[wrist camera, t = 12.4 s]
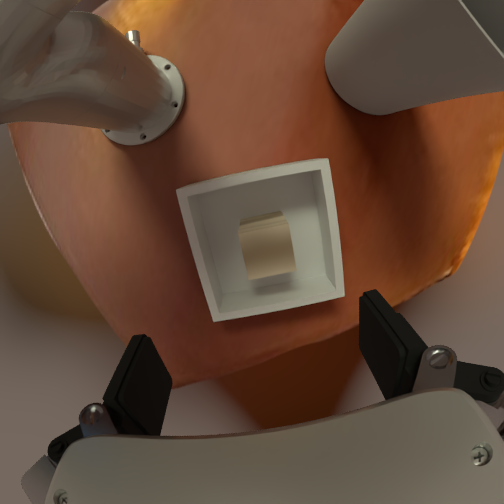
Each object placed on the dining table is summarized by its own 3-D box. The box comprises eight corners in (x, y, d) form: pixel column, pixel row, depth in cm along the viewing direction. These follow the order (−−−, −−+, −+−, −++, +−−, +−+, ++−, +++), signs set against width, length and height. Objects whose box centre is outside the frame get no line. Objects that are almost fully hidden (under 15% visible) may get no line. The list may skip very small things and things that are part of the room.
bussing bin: (188, 184, 33) (175, 189, 27) (314, 158, 32) (328, 158, 26) (218, 298, 38) (213, 321, 32) (331, 276, 37) (344, 296, 31)
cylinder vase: (303, 66, 28) (387, -59, 4) (358, 21, 25) (454, -72, 1) (373, 134, 31) (533, 123, 7) (419, 84, 28) (554, 51, 4)
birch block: (240, 219, 33) (238, 233, 27) (280, 210, 33) (288, 223, 26) (248, 257, 35) (248, 280, 28) (287, 249, 35) (296, 270, 28)
